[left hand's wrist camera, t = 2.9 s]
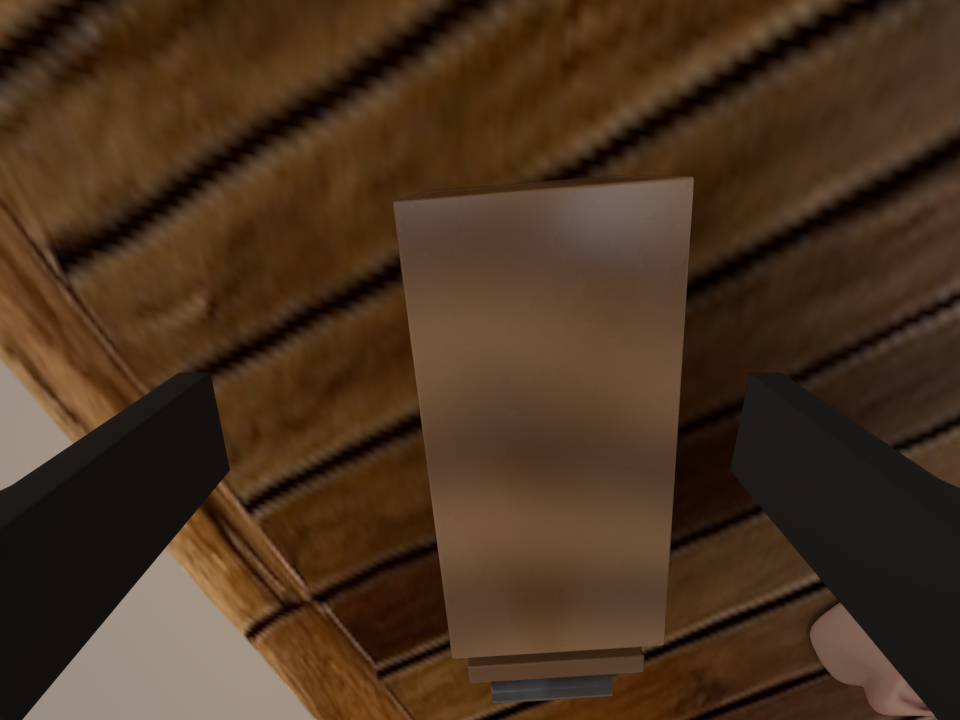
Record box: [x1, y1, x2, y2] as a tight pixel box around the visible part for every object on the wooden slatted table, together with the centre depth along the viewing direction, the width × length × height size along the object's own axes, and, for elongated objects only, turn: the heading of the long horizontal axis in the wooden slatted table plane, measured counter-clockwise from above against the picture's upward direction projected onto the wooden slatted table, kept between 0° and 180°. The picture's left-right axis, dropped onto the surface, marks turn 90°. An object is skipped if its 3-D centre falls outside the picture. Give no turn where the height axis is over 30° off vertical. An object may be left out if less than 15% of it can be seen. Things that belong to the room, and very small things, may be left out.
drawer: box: [468, 647, 644, 703], centre depth 28 cm, size 26×9×8 cm, turn 4°
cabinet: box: [393, 175, 694, 659], centre depth 26 cm, size 22×10×10 cm, turn 4°
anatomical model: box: [810, 603, 934, 716], centre depth 35 cm, size 13×4×12 cm
